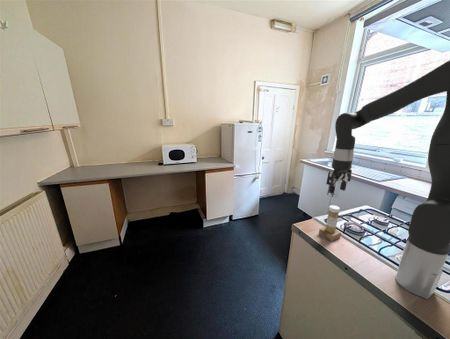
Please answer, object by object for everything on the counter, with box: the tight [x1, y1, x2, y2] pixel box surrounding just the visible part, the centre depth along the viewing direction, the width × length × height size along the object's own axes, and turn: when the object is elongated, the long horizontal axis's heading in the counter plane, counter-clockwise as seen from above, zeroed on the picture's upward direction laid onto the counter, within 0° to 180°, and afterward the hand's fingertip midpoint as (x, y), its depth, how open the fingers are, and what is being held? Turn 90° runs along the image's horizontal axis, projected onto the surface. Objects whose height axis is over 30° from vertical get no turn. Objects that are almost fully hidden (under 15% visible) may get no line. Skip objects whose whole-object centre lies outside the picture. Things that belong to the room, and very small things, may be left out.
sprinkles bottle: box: [325, 204, 341, 233], centre depth 90 cm, size 5×5×14 cm
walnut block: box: [318, 225, 342, 242], centre depth 92 cm, size 7×7×3 cm
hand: (337, 191), depth 86 cm, fingers open, 8 cm apart
